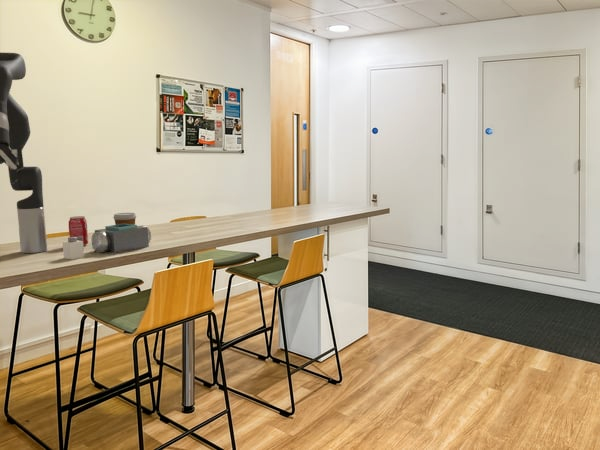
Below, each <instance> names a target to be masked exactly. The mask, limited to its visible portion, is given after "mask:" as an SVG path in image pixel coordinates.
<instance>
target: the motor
mask: <svg viewBox="0 0 600 450" xmlns="http://www.w3.org/2000/svg"><path fill="white" fill-rule="evenodd" d="M151 233H152V232H151V230H150V228H149V227H148V226H147V225H144V224H143V225H137V224H135V225H132V224H118V225H115V224H111V225H106V226H104V228H101V229H95V230H94V233H93V234H92V236H91V246H92V248H93V250H94V252H96V253H97V254H100V253H101V254H102V253H113V254H117V253H122V252H128V251H132V250H137V249H144V248H148V247H150V241H151V240H152V234H151Z"/></svg>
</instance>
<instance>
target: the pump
mask: <svg viewBox="0 0 600 450" xmlns="http://www.w3.org/2000/svg"><path fill="white" fill-rule="evenodd" d="M62 252H63V254H62V255H63V259H67V260H71V259H72V260H76V259H82V258H85V253H84V252H85V250H84V246H83V241H78V240H77V237H68V238H67V241H62Z"/></svg>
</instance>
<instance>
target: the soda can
mask: <svg viewBox="0 0 600 450" xmlns="http://www.w3.org/2000/svg"><path fill="white" fill-rule="evenodd" d="M88 231H89V230H88V221H87V219H86V218H85V216H83V215H82V216H79V215H78V216H77V215H76V216H70V217H69V220H68V236H69V237H77V240H78V241H83V247H85V246H87V244H89V235H88V234H89V232H88ZM69 237H68V238H69Z"/></svg>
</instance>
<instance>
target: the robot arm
mask: <svg viewBox="0 0 600 450" xmlns="http://www.w3.org/2000/svg"><path fill="white" fill-rule="evenodd" d="M26 69H27V68H26V62H25V59H24V57H23V56H22V55H21V54H20V53H16V52H0V165H2V164H5V165H6V166H7V167H8V168H7V169H8V177H9V182H10V183H9V184H10V186H11V188H12V190H14V191H17V192H22V191H25V192H26V191H28V192H29V191H32V193H31V194H30V195H29V196H28V197H25V198H23V199H20V200H18V201H16V210H17V211H16V213H17V221H18V234H19V246H20V252H21V253H22V254H35V253H37V254H38V253H41V252H43V253H44V252H46V251H48V242H47V241H48V240H47V239H48V238H47V232H46V231H47V230H46V220H45V219H46V218H45V217H46V216H45V209H44V208H45V207H44V206H45V205H44V195H43V175H42V170H41V168H40V167H39V166H24V165H25V164H24V158H23V149H24V148H25V146H26V144H27V142H28V140H29V138H30V136H31V128H30V127H31V126H30V121H29V116H28V114H27V112H26V111H25V110H24V109H23V107H22V105H20V104H19V103H18V101H16V100H15V98H14V97H13V96H12V95H11V92H10V91H11V88H12V85H13V81H19V80H24V78H25V77H26V72H27V70H26Z"/></svg>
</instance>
